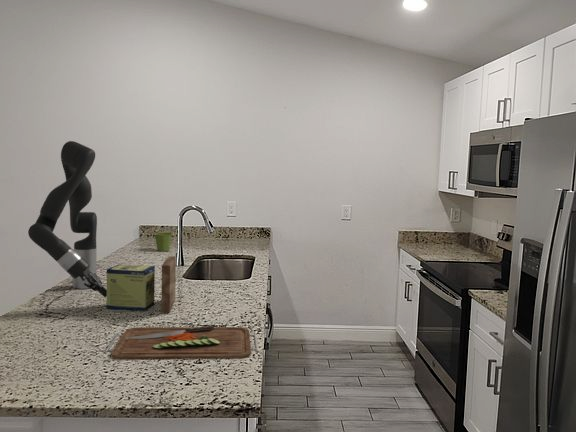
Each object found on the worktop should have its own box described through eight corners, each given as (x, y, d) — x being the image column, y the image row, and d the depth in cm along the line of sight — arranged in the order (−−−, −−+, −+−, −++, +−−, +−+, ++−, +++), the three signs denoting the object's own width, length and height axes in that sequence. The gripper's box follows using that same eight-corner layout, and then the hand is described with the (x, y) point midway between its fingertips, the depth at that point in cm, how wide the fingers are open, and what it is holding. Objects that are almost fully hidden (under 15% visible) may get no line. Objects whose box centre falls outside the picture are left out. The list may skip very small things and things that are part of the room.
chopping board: (99, 360, 146) (99, 350, 146) (120, 331, 173) (120, 322, 172) (259, 359, 151) (259, 349, 150) (255, 330, 177) (255, 322, 177)
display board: (161, 313, 193) (161, 265, 191) (167, 299, 213) (168, 256, 211) (169, 313, 193) (170, 265, 192) (175, 299, 213) (175, 256, 211)
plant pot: (152, 249, 335) (152, 232, 334) (170, 249, 340) (170, 232, 339) (155, 252, 325) (155, 235, 324) (174, 252, 330) (174, 234, 329)
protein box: (145, 311, 194) (146, 270, 193) (105, 309, 196) (105, 268, 194) (155, 304, 205) (155, 265, 203) (117, 302, 206) (117, 263, 205)
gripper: (77, 259, 189) (112, 292, 192) (84, 253, 202) (117, 284, 205) (61, 274, 188) (97, 306, 192) (69, 267, 201) (102, 297, 204)
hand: (107, 295), depth 198 cm, fingers closed
